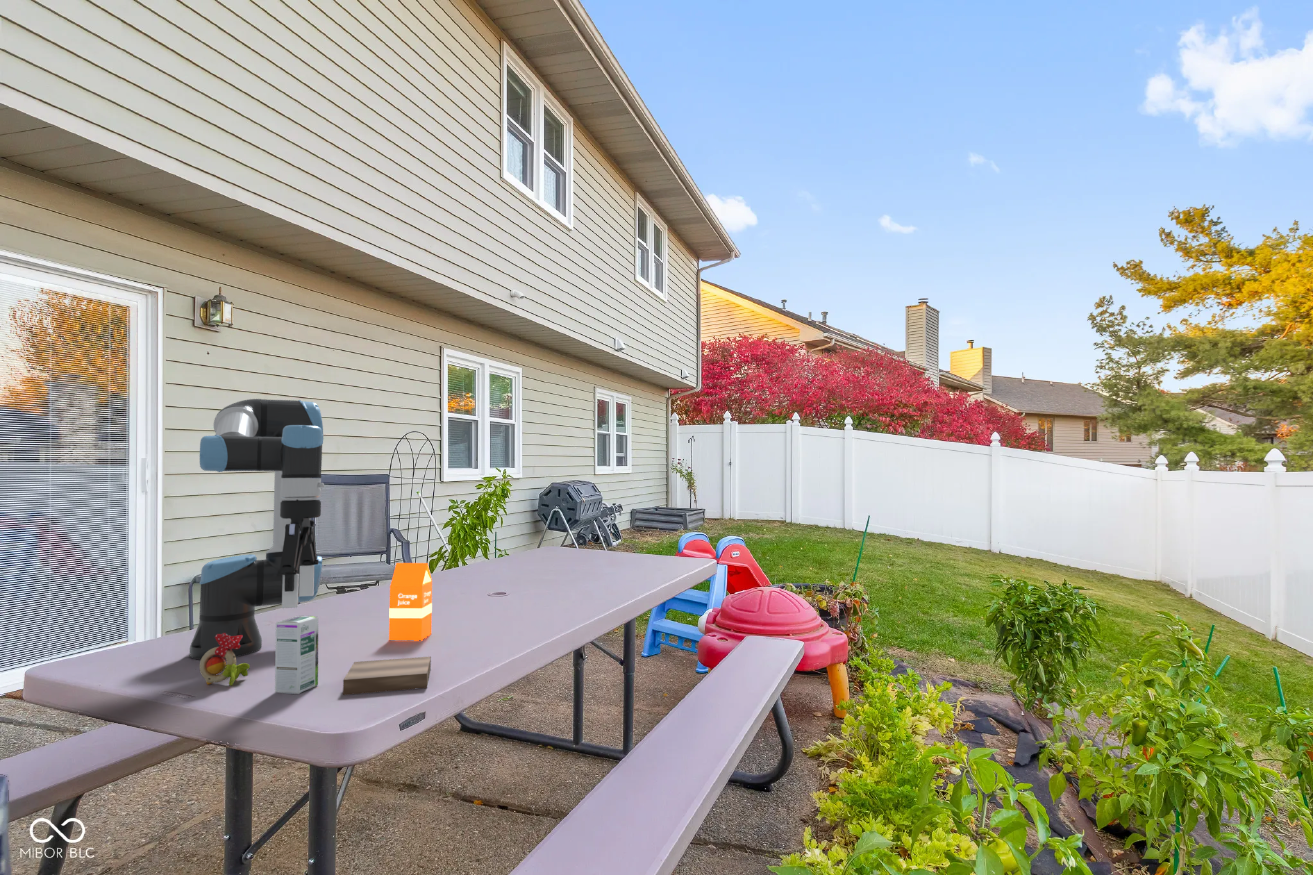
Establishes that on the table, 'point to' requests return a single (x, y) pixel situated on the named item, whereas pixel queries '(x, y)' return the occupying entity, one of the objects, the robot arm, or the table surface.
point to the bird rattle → (223, 661)
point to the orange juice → (410, 602)
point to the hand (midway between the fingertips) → (298, 601)
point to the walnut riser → (387, 675)
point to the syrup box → (296, 654)
